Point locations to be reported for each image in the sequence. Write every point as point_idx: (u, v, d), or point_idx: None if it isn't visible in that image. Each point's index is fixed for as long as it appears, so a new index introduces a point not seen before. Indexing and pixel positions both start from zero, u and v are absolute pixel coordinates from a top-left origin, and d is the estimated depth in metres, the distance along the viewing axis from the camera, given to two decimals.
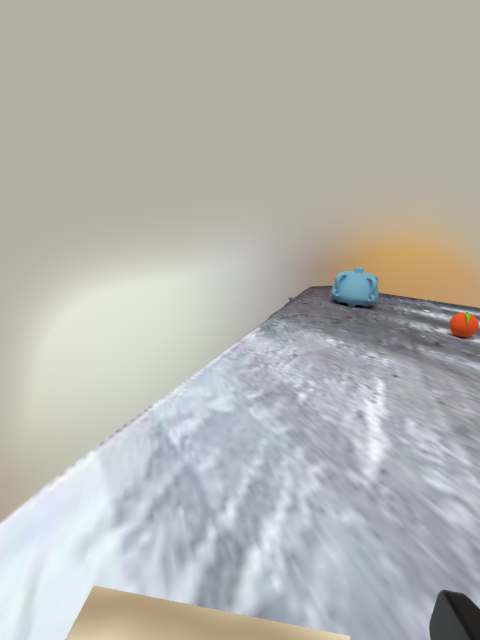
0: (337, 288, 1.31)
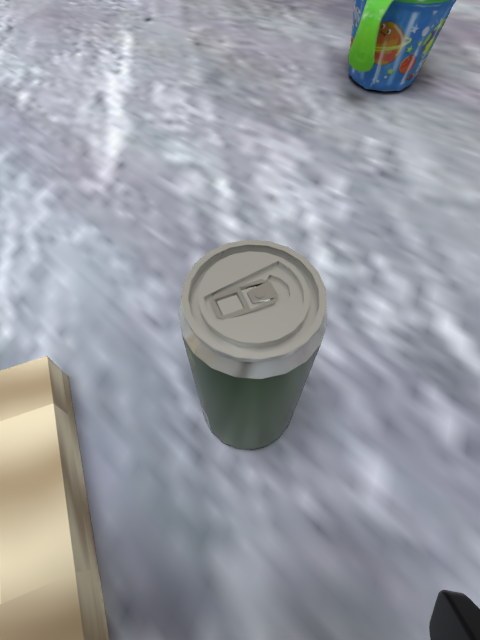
0: None
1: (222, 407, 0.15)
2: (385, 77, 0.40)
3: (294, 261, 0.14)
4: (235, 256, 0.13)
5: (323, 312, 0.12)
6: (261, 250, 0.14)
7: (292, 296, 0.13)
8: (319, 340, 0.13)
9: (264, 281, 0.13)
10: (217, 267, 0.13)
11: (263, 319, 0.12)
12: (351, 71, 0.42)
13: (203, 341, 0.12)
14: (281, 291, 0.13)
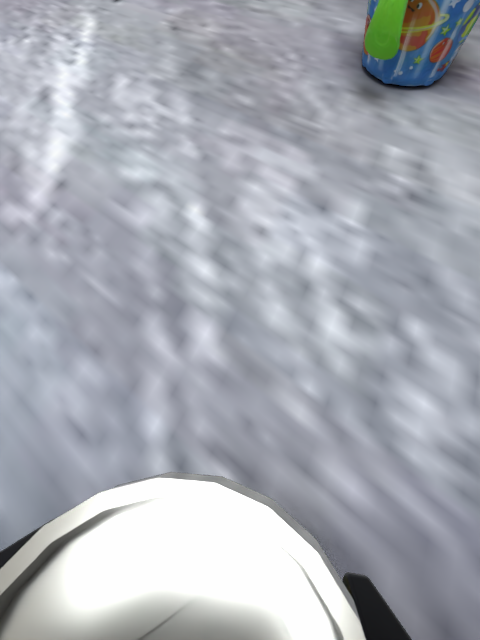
0: None
1: None
2: (411, 67, 0.31)
3: (287, 552, 0.05)
4: (114, 548, 0.05)
5: None
6: (195, 501, 0.05)
7: None
8: None
9: None
10: (53, 597, 0.04)
11: None
12: (366, 60, 0.33)
13: None
14: None
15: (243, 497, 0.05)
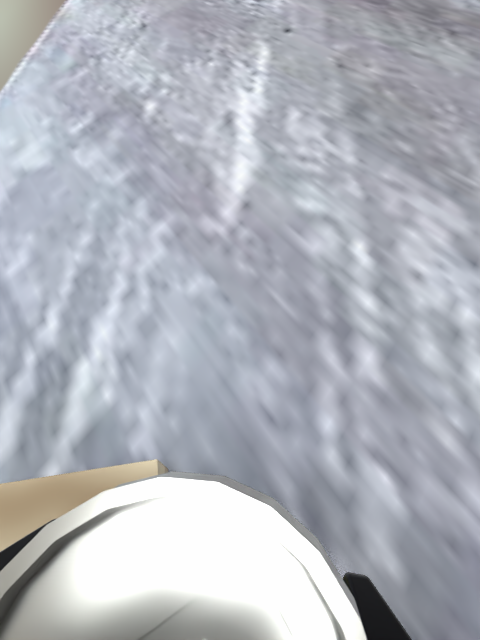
0: None
1: None
2: None
3: (289, 551, 0.05)
4: (117, 546, 0.05)
5: None
6: (198, 500, 0.05)
7: None
8: None
9: None
10: (57, 595, 0.04)
11: None
12: None
13: None
14: None
15: (245, 496, 0.05)
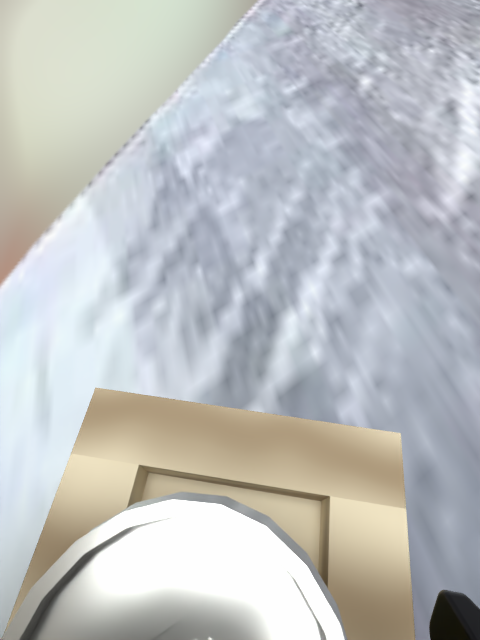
0: None
1: None
2: None
3: (281, 564, 0.06)
4: (136, 559, 0.06)
5: None
6: (204, 520, 0.06)
7: None
8: None
9: None
10: (86, 600, 0.05)
11: None
12: None
13: None
14: None
15: (244, 517, 0.06)
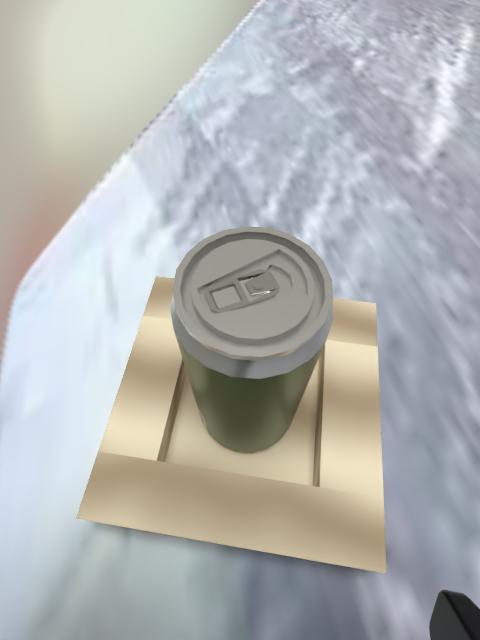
0: None
1: (218, 409, 0.14)
2: None
3: (297, 249, 0.12)
4: (232, 244, 0.12)
5: (329, 305, 0.11)
6: (260, 238, 0.13)
7: (295, 287, 0.12)
8: (325, 336, 0.11)
9: (263, 271, 0.12)
10: (212, 256, 0.12)
11: (263, 313, 0.11)
12: None
13: (196, 337, 0.11)
14: (283, 282, 0.12)
15: (279, 231, 0.13)
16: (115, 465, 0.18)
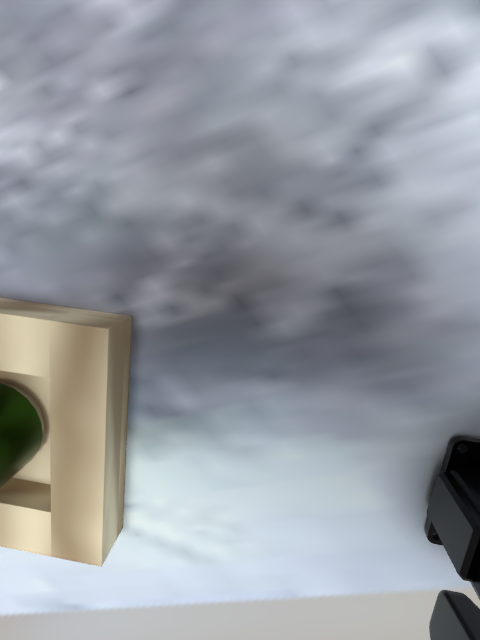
0: None
1: None
2: None
3: None
4: None
5: None
6: None
7: None
8: None
9: None
10: None
11: None
12: None
13: None
14: None
15: None
16: (59, 542, 0.21)
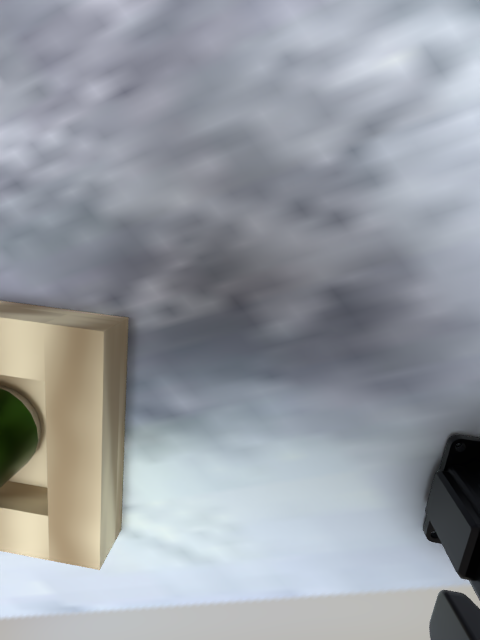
0: None
1: None
2: None
3: None
4: None
5: None
6: None
7: None
8: None
9: None
10: None
11: None
12: None
13: None
14: None
15: None
16: (57, 546, 0.21)
